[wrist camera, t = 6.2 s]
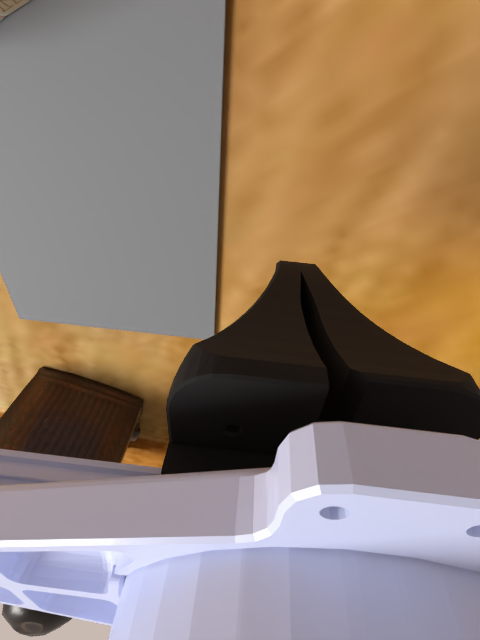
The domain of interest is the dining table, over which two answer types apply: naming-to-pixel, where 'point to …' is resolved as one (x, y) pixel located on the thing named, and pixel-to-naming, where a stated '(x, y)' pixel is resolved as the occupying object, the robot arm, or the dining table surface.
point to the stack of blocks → (10, 6)
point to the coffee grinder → (66, 442)
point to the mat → (112, 162)
